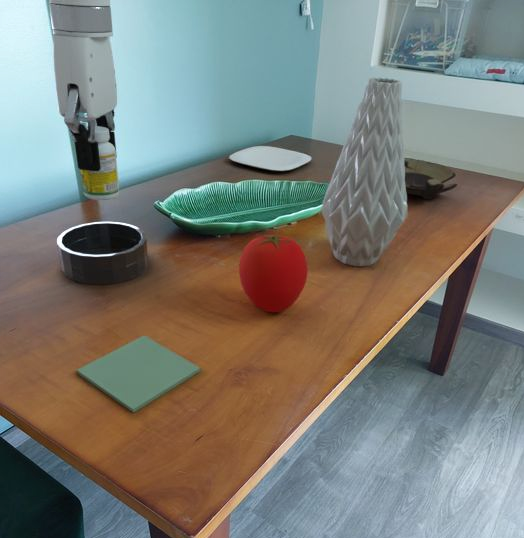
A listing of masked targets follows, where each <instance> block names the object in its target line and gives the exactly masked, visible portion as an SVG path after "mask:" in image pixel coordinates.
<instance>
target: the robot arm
mask: <svg viewBox="0 0 524 538" xmlns="http://www.w3.org/2000/svg"><path fill="white" fill-rule="evenodd" d="M48 6H49V14H50V21H51V28H52V34H53V41H52V42H53V45H52V46H53V51H52V52H53V53H52V54H53V71H54V82H55V83H54V84H55V94H56V100H57V109H58V113H59V115H60V116H61V117H62V118H63V121H64V124H65V125H66V127H67V128H68V129H69V132H70V133H71V139H72V141H73V142H74V148H75V156H76V162H77V168H78V169H79V170H80V169H81V170H89V171H99V170H100V169H101V166H100V157H99V148H98V142H95V126H100V127H105V128H108V129H109V136H110V138H109V140H108V142H109V143H111V144H112V145H113V146H114V147H115V151H116V152H117V145H116V134H115V129H116V124H115V120H114V117H115V108H117V104H118V89H117V79H116V78H117V77H116V71H115V63H114V57H113V51H112V44H111V38H110V37H114V31H113V21H112V20H113V19H112V18H113V17H112V8H111V0H48ZM81 113H82V114H85V116H80V114H81ZM83 123H85V124H87V126H88V130H87V129H86V127H87V126H85V125H84V124H83ZM117 157H118V155H117V154H116V159H117Z"/></svg>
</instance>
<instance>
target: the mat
mask: <svg viewBox="0 0 524 538" xmlns="http://www.w3.org/2000/svg"><path fill="white" fill-rule="evenodd" d="M200 372H201V367H199V366H198V365H196V364H195V363H193V362H191V361H190V360H188V359H186V358H184V357H183V356H181V355H180V354H177V353H176V352H174V351H173V350H171V349H169V348H167V347H166V346H164V345H162V344H161V343H158V342H157V341H155V340H154V339H152V338H150V337H148V336H147V335H141V336H140V337H138V338H135V339H134V340H132V341H130V342H128V343H126V344H124V345H123V346H120V347H118V348H117V349H114V350H112V351H111V352H108V353H107V354H105V355H103V356H101V357H99V358H96V359H95V360H93V361H91V362H89V363H86V364H85V365H82V366H81V367H80V368H77V369H76V373H77V374H78V375H79V376H81V377H82V378H83V379H85V380H86V381H88V382H89V383H90V384H92V385H93V386H95V387H96V388H97V389H99V390H100V391H101V392H103V393H105V394H106V395H107V396H109V397H110V398H112V399H113V400H114V401H116V402H118V403H119V404H120V405H122V406H123V407H124V408H126V409H127V410H129V411H130V412H131V413H135V412H137V411H139V410H140V409H142V408H144V407H145V406H147V405H148V404H150V403H151V402H153V401H155V400H157V399H158V398H160V397H162V396H163V395H165V394H166V393H168V392H169V391H172V390H173V389H174V388H176V387H177V386H179V385H181V384H183V383H184V382H185V381H187V380H189V379H190V378H192V377H193V376H195V375H196V374H199V373H200Z"/></svg>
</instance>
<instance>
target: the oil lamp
mask: <svg viewBox="0 0 524 538" xmlns="http://www.w3.org/2000/svg"><path fill="white" fill-rule="evenodd" d="M404 167H405V186H406V194H407V195H411V196H412V195H413V196H419V197H420V196H421V197H423V198H424V199H425V200H432V199H434V198H435V197H436V196H437V195H438V194H443V193H445V192H448V191H451V190H453V189H455V188H456V187H457V186H458V183H449V184H444V183H447V182H448V181H450V180H452V179H453V178H455V177H456V175H457V174H456V172H455V171H453V170H452V169H451V168H448V167H446V166H445V165H443V164H440V163H437V162H431V161H425V160H423V159H422V160H421V159H416V158H412V157H411V158H404Z"/></svg>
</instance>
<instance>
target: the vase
mask: <svg viewBox="0 0 524 538" xmlns="http://www.w3.org/2000/svg"><path fill="white" fill-rule="evenodd" d="M402 87H403V82H402V81H401V80H400V79H395V78H388V77H385V78H382V77H378V78H376V77H373V78H368V81H367V85H366V86H365V88H364V92H363V94H362V96H361V97H362V98H361V101H360V103H359V104H358V106H357V109H356V113H355V116H354V120H353V122H352V124H351V127H350V130H349V133H348V135H347V136H346V140H345V142H344V144H343V147H342V149H341V152H340V155H339V158H338V159H337V160H336V161H337V162H336V164H335V168H334V170H333V173H332V176H331V178H330V181H329V184H328V186H327V189H326V192H325V194H324V198H323V200H322V202H321V203H322V205H321V208H320V212H321V214H322V216H323V218H324V221H325V224H324V226H325V227H324V229H325V231H326V235H327V240H328V242H329V243H330V244H329V245H330V246H331V250H332V254H333V256H334V257H333V258H335V259H336V260H337V261H338V262H339V263H342V264H344V265H348V266H352V267H359V268H361V267H368V266H369V267H370V266H372V265H375V264H376V263H377V262H378V261H379V259H380V257H381V256H382V254H384V253H386V252H387V251H388V248H389V247H390V245H391V244H392V241H393V240H394V238H395V237H396V236H397V234H398V230H399V229H400V228H401V227H402V226H403V224H404V222H405V221H406V219H407V218H408V215H409V212H408V208H409V207H408V194H407V193H406V186H405V168H406V166H404V159H405V150H404V149H405V145H404V135H403V134H404V133H403V99H402V89H403V88H402Z"/></svg>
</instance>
